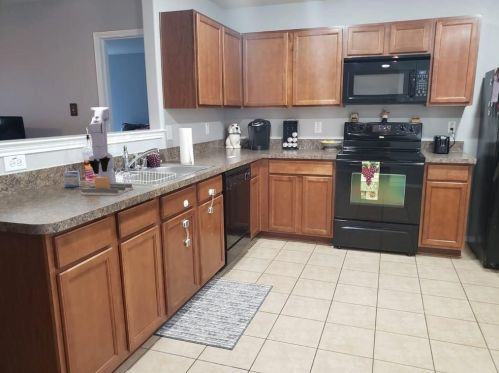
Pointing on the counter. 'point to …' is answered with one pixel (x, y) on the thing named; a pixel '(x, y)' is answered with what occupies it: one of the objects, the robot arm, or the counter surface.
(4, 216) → the counter surface
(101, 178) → the orange block
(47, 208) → the counter surface
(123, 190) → the slot rack
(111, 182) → the robot arm
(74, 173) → the medicine box
